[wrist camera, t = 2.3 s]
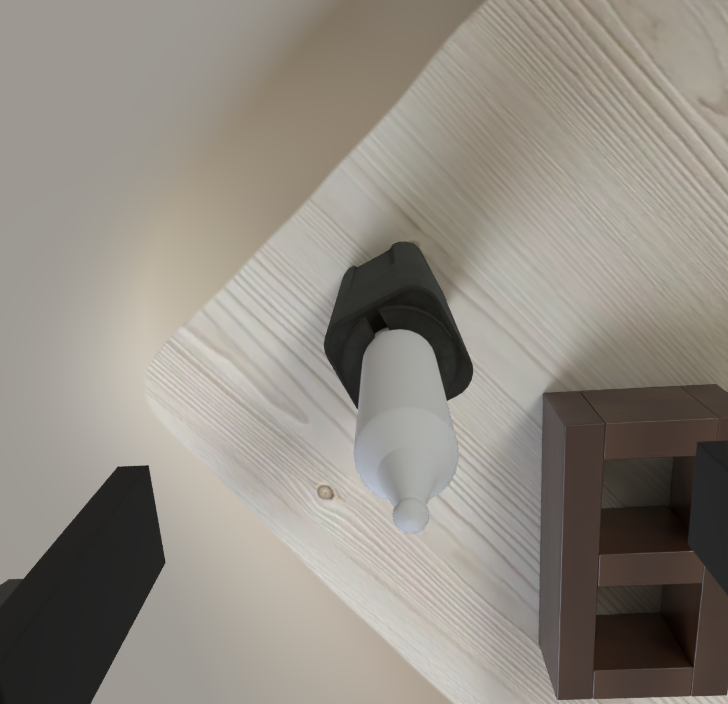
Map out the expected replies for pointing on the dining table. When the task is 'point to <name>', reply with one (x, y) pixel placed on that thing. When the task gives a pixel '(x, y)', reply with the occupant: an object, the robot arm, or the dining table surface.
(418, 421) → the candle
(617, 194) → the dining table surface
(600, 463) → the rack
